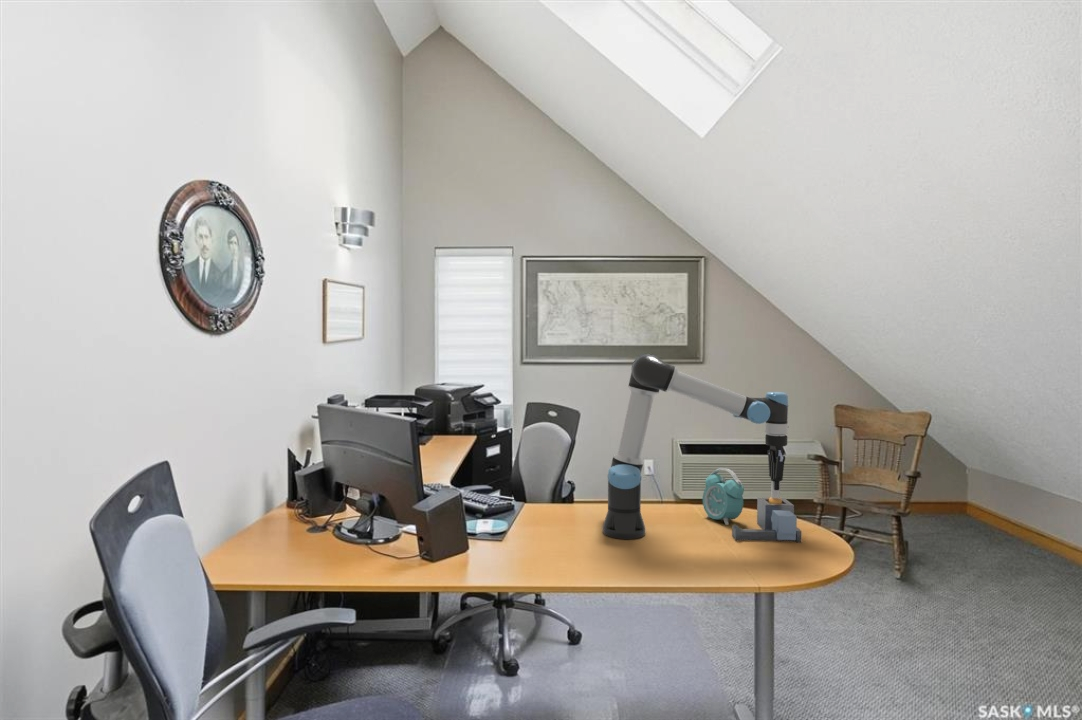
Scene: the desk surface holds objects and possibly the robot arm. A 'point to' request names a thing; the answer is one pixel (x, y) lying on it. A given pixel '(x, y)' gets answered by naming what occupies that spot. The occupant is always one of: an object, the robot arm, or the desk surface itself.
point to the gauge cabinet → (770, 511)
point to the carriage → (784, 524)
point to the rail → (759, 534)
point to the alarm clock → (723, 496)
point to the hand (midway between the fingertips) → (775, 498)
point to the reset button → (775, 501)
